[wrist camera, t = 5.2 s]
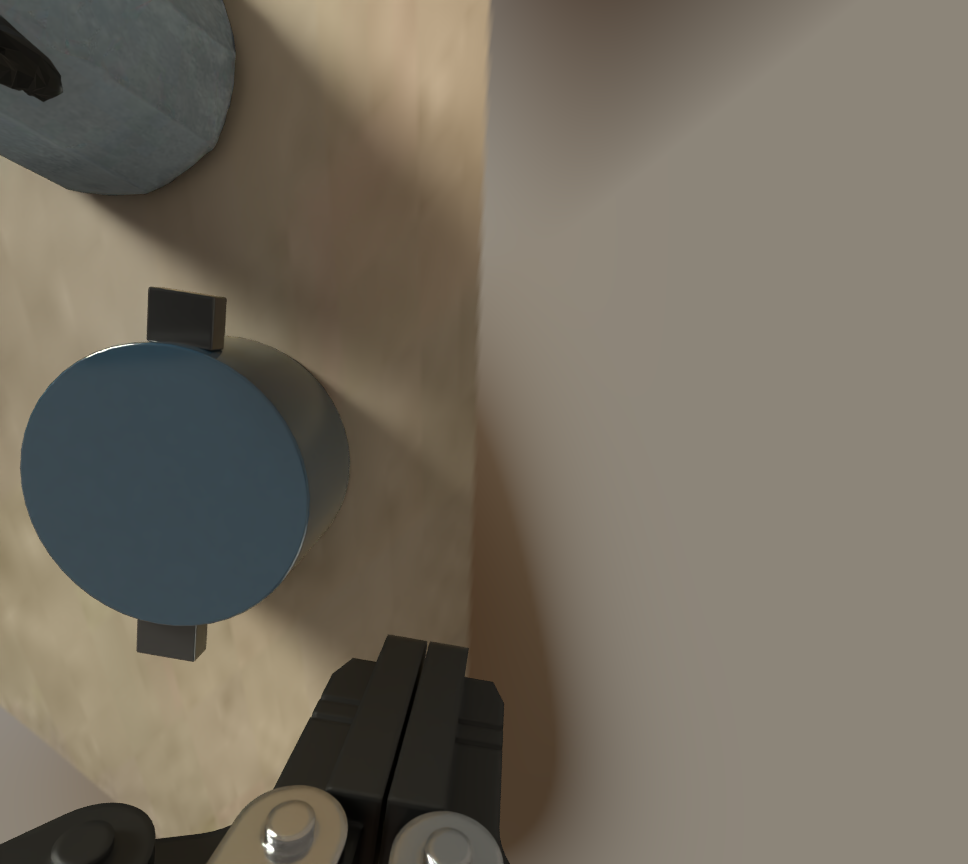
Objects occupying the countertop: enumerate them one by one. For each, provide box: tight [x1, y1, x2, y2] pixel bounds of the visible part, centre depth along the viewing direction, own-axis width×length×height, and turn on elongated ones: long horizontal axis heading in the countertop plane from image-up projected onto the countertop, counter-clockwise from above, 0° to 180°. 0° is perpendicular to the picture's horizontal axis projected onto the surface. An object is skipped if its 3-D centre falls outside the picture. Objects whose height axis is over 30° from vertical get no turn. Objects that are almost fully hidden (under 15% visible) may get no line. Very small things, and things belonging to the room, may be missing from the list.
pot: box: [20, 287, 350, 662], centre depth 20 cm, size 9×12×4 cm
